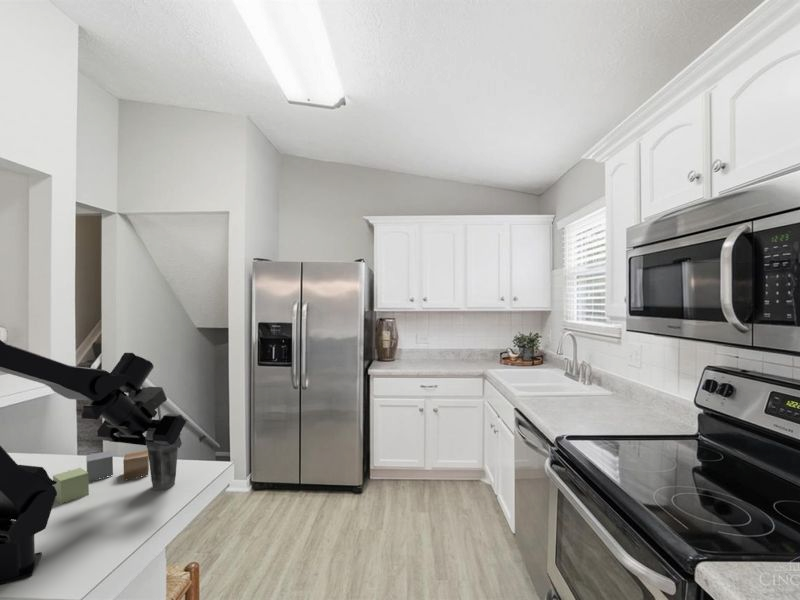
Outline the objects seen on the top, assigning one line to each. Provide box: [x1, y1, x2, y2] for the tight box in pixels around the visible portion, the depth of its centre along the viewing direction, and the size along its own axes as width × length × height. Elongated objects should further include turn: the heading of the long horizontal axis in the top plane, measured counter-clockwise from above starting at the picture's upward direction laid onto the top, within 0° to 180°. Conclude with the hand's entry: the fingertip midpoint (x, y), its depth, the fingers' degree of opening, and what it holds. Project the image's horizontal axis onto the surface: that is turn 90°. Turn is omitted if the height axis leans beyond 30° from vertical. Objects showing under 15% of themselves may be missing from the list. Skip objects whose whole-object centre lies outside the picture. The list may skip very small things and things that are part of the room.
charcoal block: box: [86, 450, 114, 482], centre depth 103 cm, size 5×5×5 cm
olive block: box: [52, 467, 90, 504], centre depth 92 cm, size 5×5×5 cm
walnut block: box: [122, 449, 150, 481], centre depth 103 cm, size 5×5×5 cm
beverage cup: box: [145, 405, 181, 491], centre depth 96 cm, size 7×7×20 cm
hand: (163, 444), depth 96 cm, fingers open, 9 cm apart
